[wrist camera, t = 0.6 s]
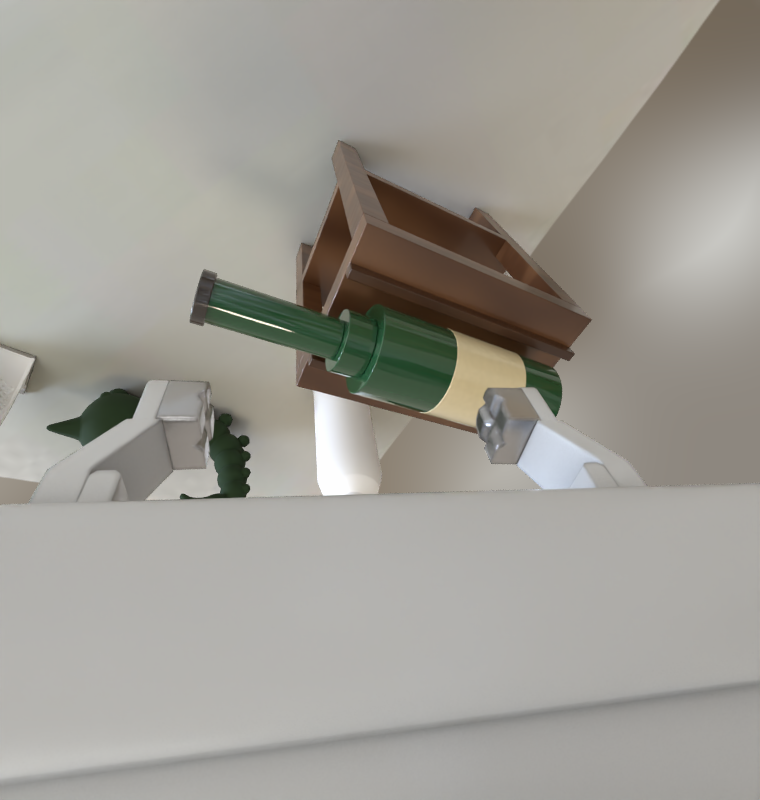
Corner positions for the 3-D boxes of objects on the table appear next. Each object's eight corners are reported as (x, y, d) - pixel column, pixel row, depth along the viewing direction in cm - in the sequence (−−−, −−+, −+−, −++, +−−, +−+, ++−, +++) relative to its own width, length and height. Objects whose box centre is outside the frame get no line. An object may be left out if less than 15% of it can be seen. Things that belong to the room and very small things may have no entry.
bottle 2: (354, 351, 66) (384, 525, 44) (371, 390, 71) (406, 563, 49) (303, 370, 67) (307, 549, 44) (324, 406, 72) (337, 584, 49)
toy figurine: (255, 397, 71) (67, 359, 60) (258, 495, 58) (16, 468, 46) (238, 438, 76) (62, 409, 65) (237, 536, 63) (15, 522, 51)
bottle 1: (216, 226, 28) (198, 270, 23) (540, 347, 37) (576, 397, 32) (194, 314, 31) (175, 369, 26) (496, 404, 41) (523, 457, 36)
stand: (338, 139, 49) (368, 228, 28) (488, 213, 56) (598, 326, 36) (296, 257, 56) (296, 394, 36) (433, 308, 63) (498, 446, 43)
